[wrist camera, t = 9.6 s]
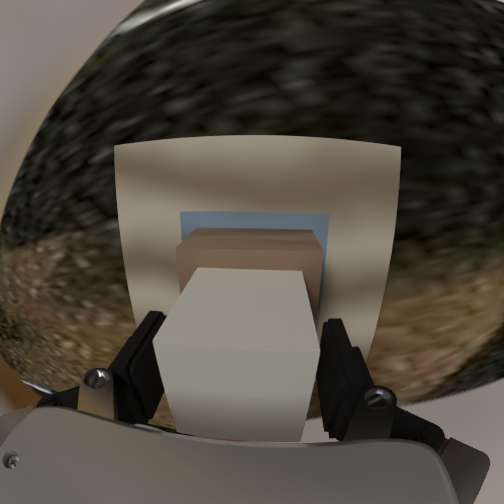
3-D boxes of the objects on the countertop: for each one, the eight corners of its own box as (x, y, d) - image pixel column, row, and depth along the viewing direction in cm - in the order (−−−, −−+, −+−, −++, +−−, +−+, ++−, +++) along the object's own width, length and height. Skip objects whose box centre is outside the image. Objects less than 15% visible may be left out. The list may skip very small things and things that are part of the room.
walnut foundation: (196, 227, 17) (175, 247, 13) (311, 229, 17) (323, 251, 13) (203, 324, 19) (189, 360, 16) (303, 328, 19) (308, 366, 15)
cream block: (197, 267, 14) (152, 340, 8) (301, 270, 13) (320, 350, 8) (204, 348, 15) (177, 432, 10) (293, 353, 15) (300, 441, 9)
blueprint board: (121, 145, 17) (114, 145, 16) (394, 147, 16) (401, 147, 15) (151, 363, 22) (147, 370, 22) (358, 372, 21) (360, 380, 20)
